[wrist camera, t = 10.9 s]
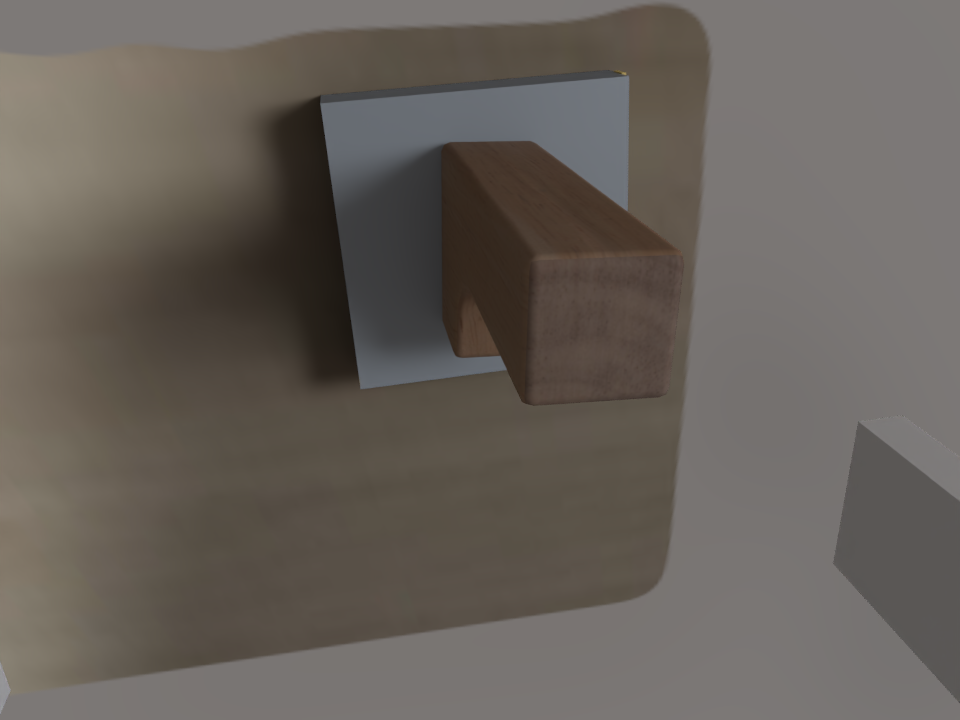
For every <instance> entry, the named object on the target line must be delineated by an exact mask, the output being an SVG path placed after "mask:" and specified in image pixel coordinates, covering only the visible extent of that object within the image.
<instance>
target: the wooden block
mask: <svg viewBox="0 0 960 720" xmlns="http://www.w3.org/2000/svg"><path fill="white" fill-rule="evenodd" d="M441 175H442V321H443V323H444V326H445V329H446V332H447V335H448V338H449V341H450V344H451V347H452V349H453V352H454V354H455V356H457V357H460V358H473V357H491V356H501V358H502V360H503V363H504V365H505V367H506V369H507V371H508V373H509V375H510V377H511V380H512V382H513V384H514V386H515V388H516V390H517V392H518V394H519V397H520V399H521V401H522V402H523V403H525V404H529V405H533V406H536V405H551V404H566V403H580V402H595V401H610V400H625V399H640V398H655V397H661V396H663V395H665V394H666V393H667V391H668V389H669V385H670V377H671V368H672V360H673V352H674V343H675V335H676V327H677V318H678V310H679V302H680V293H681V285H682V276H683V268H684V260H683V256H682V253H681V251H680V250H678V249H677V248H676V247H674V246H673V245H672V244H670V243H669V242H668V241H666V240H665V239H664V238H662V237H661V236H660V235H658V234H657V233H656V232H654V231H653V230H652V229H650V228H649V227H648V226H646V225H645V224H644V223H642V222H641V221H640V220H638V219H637V218H636V217H634V216H633V215H632V214H630V213H629V212H628V211H626V210H625V209H623V208H622V207H621V206H619V205H618V204H617V203H615V202H614V201H613V200H611V199H610V198H609V197H607V196H606V195H605V194H603V193H602V192H601V191H599V190H598V189H597V188H595V187H594V186H593V185H591V184H590V183H589V182H587V181H586V180H585V179H583V178H582V177H581V176H579V175H578V174H577V173H575V172H574V171H573V170H571V169H570V168H569V167H567V166H566V165H565V164H563V163H562V162H561V161H559V160H558V159H557V158H555V157H554V156H553V155H551V154H550V153H549V152H547V151H546V150H544V149H543V148H542V147H540V146H539V145H538V144H536V143H534V142H532V141H487V142H449V143H447V144H445V145H444V146H443V148H442V151H441Z"/></svg>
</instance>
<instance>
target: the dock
mask: <svg viewBox="0 0 960 720" xmlns="http://www.w3.org/2000/svg"><path fill="white" fill-rule="evenodd" d="M320 105H321V112H322V119H323V126H324V133H325V140H326V147H327V154H328V161H329V168H330V175H331V182H332V189H333V197H334V204H335V211H336V218H337V225H338V232H339V239H340V246H341V253H342V260H343V267H344V274H345V281H346V288H347V296H348V303H349V310H350V317H351V324H352V331H353V338H354V345H355V352H356V359H357V366H358V374H359V384H360V387H361V389H366V388H374V387H381V386H389V385H396V384H404V383H411V382H419V381H426V380H434V379H442V378H449V377H457V376H464V375H472V374H479V373H487V372H494V371H502V370H507V369H506V367H505V365H504V363H503V360H502V358H501V356H491V357H473V358H460V357H457V356H455V354H454V352H453V349H452V347H451V344H450V341H449V338H448V335H447V332H446V329H445V326H444V323H443V321H442V175H441V151H442V148H443V146H444V145H445V144H447V143H449V142H487V141H532V142H534V143H536V144H538V145H539V146H540V147H542V148H543V149H544V150H546V151H547V152H549V153H550V154H551V155H553V156H554V157H555V158H557V159H558V160H559V161H561V162H562V163H563V164H565V165H566V166H567V167H569V168H570V169H571V170H573V171H574V172H575V173H577V174H578V175H579V176H581V177H582V178H583V179H585V180H586V181H587V182H589V183H590V184H591V185H593V186H594V187H595V188H597V189H598V190H599V191H601V192H602V193H603V194H605V195H606V196H607V197H609V198H610V199H611V200H613V201H614V202H615V203H617V204H618V205H619V206H621V207H622V208H623V209H625V210H626V211H628V132H629V76H627V75H626V73H625V72H621V71H618V70H617V71H610V70H604V71H593V72H582V73H570V74H559V75H547V76H536V77H525V78H513V79H502V80H490V81H479V82H468V83H456V84H445V85H433V86H422V87H411V88H399V89H388V90H376V91H365V92H354V93H342V94H331V95H321V101H320Z"/></svg>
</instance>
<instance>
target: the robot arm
mask: <svg viewBox="0 0 960 720" xmlns="http://www.w3.org/2000/svg"><path fill="white" fill-rule="evenodd" d="M833 564H834V565H835V566H836V567H837V568H838V569H839V571H840V572H841V573H842V574H843V575H844V576H845V577H846V578H847V579H848V580H849V582H850V583H851V584H852V585H853V586H854V587H855V588H856V589H857V590H858V591H859V593H860V594H861V595H862V596H863V597H864V598H865V599H866V600H867V601H868V602H869V604H870V605H871V606H872V607H873V608H874V609H875V610H876V611H877V612H878V614H879V615H880V616H881V617H882V618H883V619H884V620H885V621H886V622H887V623H888V624H889V626H890V627H891V628H892V629H893V630H894V631H895V632H896V633H897V634H898V636H899V637H900V638H901V639H902V640H903V641H904V642H905V643H906V644H907V645H908V647H909V648H910V649H911V650H912V651H913V652H914V653H915V654H916V655H917V656H918V658H919V659H920V660H921V661H922V662H923V663H924V664H925V665H926V666H927V668H928V669H929V670H930V671H931V672H932V673H933V674H934V675H935V676H936V677H937V678H938V680H939V681H940V682H941V683H942V684H943V685H944V686H945V687H946V688H947V690H948V691H949V692H950V693H951V694H952V695H953V696H954V697H955V698H956V699H957V701H958V702H959V703H960V457H959V456H958V455H957V454H955V453H954V452H952V451H951V450H949V449H948V448H947V447H945V446H944V445H943V444H941V443H940V442H938V441H937V440H936V439H934V438H933V437H932V436H930V435H929V434H927V433H926V432H925V431H923V430H922V429H920V428H919V427H918V426H916V425H915V424H914V423H912V422H911V421H909V420H908V419H907V418H905V417H904V416H896V417H888V418H880V419H872V420H865V421H858V426H857V431H856V437H855V443H854V449H853V455H852V460H851V466H850V471H849V477H848V483H847V488H846V494H845V500H844V506H843V511H842V517H841V522H840V528H839V534H838V540H837V545H836V551H835V557H834V563H833ZM10 691H11V690H10V687H9V685H8V682H7V679H6V676H5V674H4V671H3V668H2V665H1V663H0V713H1V711H2V709H3V707H4V704H5V702H6V700H7V697H8V695H9V693H10Z"/></svg>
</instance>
